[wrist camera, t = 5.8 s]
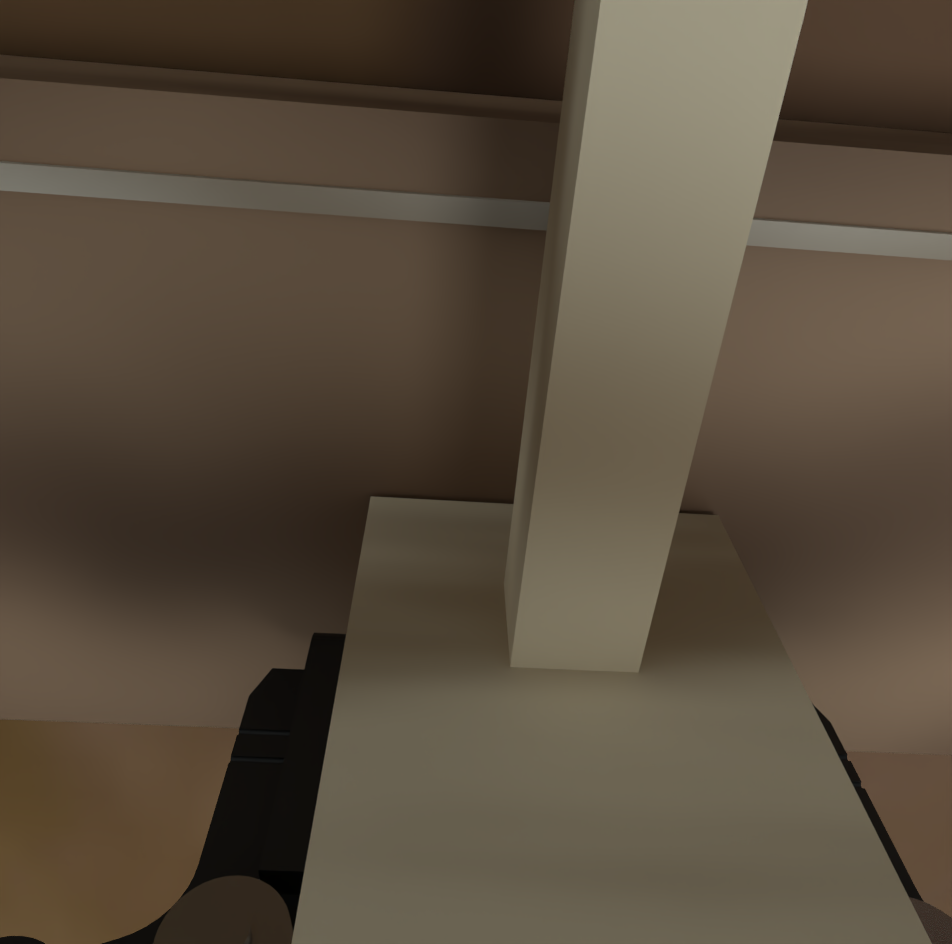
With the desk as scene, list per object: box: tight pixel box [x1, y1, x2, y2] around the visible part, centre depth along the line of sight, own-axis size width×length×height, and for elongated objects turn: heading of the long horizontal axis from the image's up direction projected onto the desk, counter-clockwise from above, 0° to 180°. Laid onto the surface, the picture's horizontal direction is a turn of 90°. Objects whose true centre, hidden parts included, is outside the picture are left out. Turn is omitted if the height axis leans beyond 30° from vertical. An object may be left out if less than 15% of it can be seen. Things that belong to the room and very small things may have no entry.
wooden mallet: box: [291, 0, 932, 944], centre depth 9 cm, size 15×5×9 cm, turn 176°
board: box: [0, 55, 952, 755], centre depth 12 cm, size 10×28×2 cm, turn 86°
